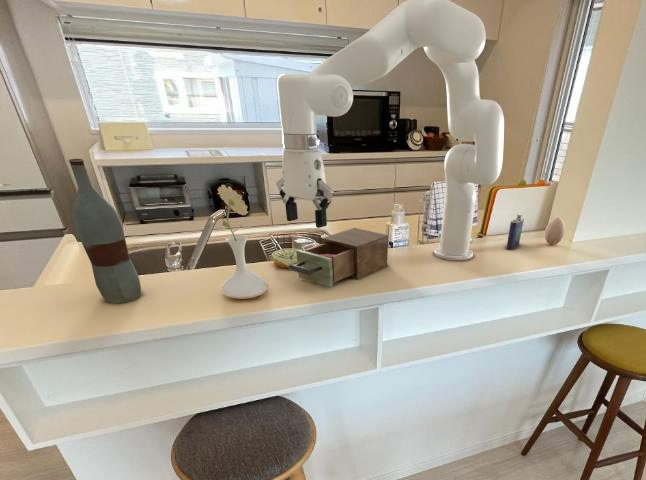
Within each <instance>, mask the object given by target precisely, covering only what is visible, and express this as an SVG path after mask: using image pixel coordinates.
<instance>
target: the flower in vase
mask: <svg viewBox="0 0 646 480" xmlns="http://www.w3.org/2000/svg"><path fill="white" fill-rule="evenodd" d="M217 191H218V194H219V197H220V199H221V200H222V201H224V203H225V204H226V205H227V213H226V215H227V216H226V220H224V219H222V224H221V225H222V226H223V227H226V228H227V229H228V230H230V232H231V236H228V237H226V238H225V242H226V243H228V245H229V246H230V248H231V250H232V252H233V256H234V259H235V265H236V266H235V271H234V272H233V273H232V274H231V275H230V276H229V277H228V278H226V280H225V281H224V282H223V283H222V285H221V289H220V291H221V293H223V295H224V296H226V297H228V298H232V299H238V300H239V299H241V300H243V299H244V300H246V299H252V298H257V297H259V296H262V295H264V294H265V293H266V292H267V291H268V289H269V284H268V283H267V281H266V280H265V279H263V277H261V276H259V275H258V274H256V273H254V272H252V270H250V269H249V268H248V266H247V263H246V257H245V249H246V248H245V247H246V243H247V241H248V239H249V238H248V237H247V236H244V235H235V232H236V231H238V230H239V229H240V228H242V227H243V224H242V223H241V224H240V225H239V226H237V227H236V228H235V229H232V227H231V225H230V222H229V216H230V210H232V211H233V212H236V213H237V214H238V215H241V216H246V215H247V214H249V211H248V208H249V207H248V205H246V204H245V203H246V202H245V200H243V196H242V195H241V194H238V193H237V191H236V190H233V189H232V187H231V186H226V184H221V186H218V188H217Z"/></svg>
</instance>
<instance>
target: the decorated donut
mask: <svg viewBox="0 0 646 480" xmlns="http://www.w3.org/2000/svg"><path fill="white" fill-rule="evenodd" d="M297 250H301V249H299V248H293V247H292V248H290V247H289V248H281V249H278V250H276V251H274V252H272V253H271V260H272V261H273V263H274V265H275V266H277V267H278V268H281V269H289V268H288V267H289V265H290V264H292V265H296V264H297V253H296V251H297Z"/></svg>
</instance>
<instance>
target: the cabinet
mask: <svg viewBox="0 0 646 480" xmlns="http://www.w3.org/2000/svg"><path fill="white" fill-rule="evenodd" d="M327 242H329V243H333V244H337V245H341V246H346V247H350V248H354V249H355V274H353V275H351V276H348V277H347V278H352V279H356V280H359V279H361V278H364V277H365V276H368V275H370V274H373V273H374V272H377V271H379V270H382V269H383V268H385V267H388V258H389V257H388V256H389V254H388V253H389V234H385V233H380V232H375V231H371V230H366V229H361V228H357V227H351V228H349V229H346V230H343V231H340V232H337V233H334V234H329V235H327V236H324V237H321V244H324V243H327Z"/></svg>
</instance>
